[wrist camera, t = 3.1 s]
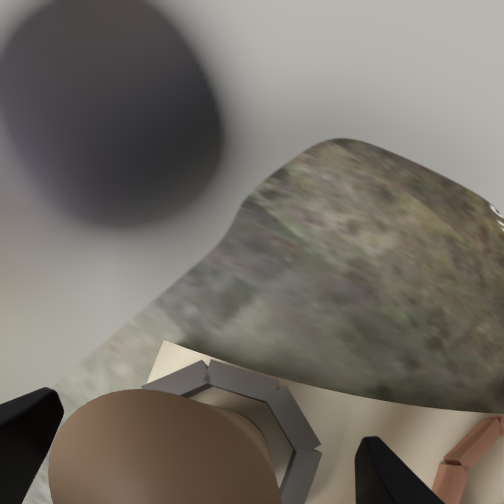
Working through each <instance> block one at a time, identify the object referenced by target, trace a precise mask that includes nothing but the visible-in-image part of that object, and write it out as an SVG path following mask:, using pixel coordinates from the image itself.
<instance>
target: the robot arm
mask: <svg viewBox="0 0 504 504" xmlns="http://www.w3.org/2000/svg"><path fill="white" fill-rule="evenodd" d="M63 415H64V409H63V406H62V403H61V401H60V398H59V396H58V393H57V392H56V391H55V390H53V389H51V388H48V387H44V388H41V389H38V390H36V391H33V392H31V393H29V394H26V395H23V396H21V397H18V398H16V399H13V400H11V401H8V402H5V403H3V404H0V504H22V502H23V500H24V498H25V496H26V494H27V492H28V490H29V488H30V486H31V484H32V482H33V480H34V478H35V476H36V474H37V472H38V470H39V468H40V466H41V464H42V463H43V461H44V459H45V457H46V455H47V453H48V451H49V449H50V446H51V444H52V442H53V439H54V437H55V434H56V432H57V429H58V427H59V425H60V422H61V420H62V418H63ZM354 464H355V500H356V504H445V503H444V502H443V501H442V500H441V499H440V498H439V497H438V496H437V495H436V494H435V493H434V492H433V491H432V490H431V489H430V488H429V487H428V486H427V485H426V484H425V483H424V482H423V481H422V480H421V479H420V478H419V477H418V476H417V475H416V474H415V473H414V472H413V471H412V470H411V469H410V468H409V467H408V466H407V465H406V464H405V463H404V462H403V461H402V460H401V459H400V458H399V457H398V456H397V455H396V454H395V453H394V452H393V451H392V450H391V449H390V448H389V447H388V446H387V445H386V444H385V443H384V442H383V440H382V439H381V438H380V437H378V436H366V437H363V438H362V440H361V443H360V445H359V447H358V450H357V452H356V454H355V460H354Z"/></svg>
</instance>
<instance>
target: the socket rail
mask: <svg viewBox="0 0 504 504" xmlns="http://www.w3.org/2000/svg"><path fill="white" fill-rule="evenodd" d="M141 387H142V389H146V390H158V391H163V392H168V393H173V394H176V395H179V396H182V397H186V398H189V399H192V400H195V401H199V402H202V403H205V404H209V405H212V406H216V407H219V408H223V409H227V410H230V411H234V412H237V413H239V414H241V415H243V416H245V417H247V418H248V419H250V420H251V421H252V422H253V423H254V424H256V425H257V427H258V428H259V429H260V430H261V432H262V433H263V435H264V437H265V439H266V441H267V444H268V448H269V452H270V456H271V460H272V464H273V468H274V472H275V475H276V479H277V483H278V487H279V491H280V496H281V502H282V504H356V500H355V464H354V460H355V454H356V452H357V450H358V447H359V445H360V443H361V440H362V438H363V437H366V436H378V437H380V438H381V439H382V440H383V442H384V443H385V444H386V445H387V446H388V447H389V448H390V449H391V450H392V451H393V452H394V453H395V454H396V455H397V456H398V457H399V458H400V459H401V460H402V461H403V462H404V463H405V464H406V465H407V466H408V467H409V468H410V469H411V470H412V471H413V472H414V473H415V474H416V475H417V476H418V477H419V478H420V479H421V480H422V481H423V482H424V483H425V484H426V485H427V486H428V487H429V488H430V489H431V490H432V491H433V492H434V493H435V494H436V495H437V496H438V497H439V498H440V499H441V500H442V501H443V502H444V503H445V504H504V414H497V413H479V412H466V411H455V410H445V409H436V408H428V407H420V406H413V405H406V404H400V403H393V402H387V401H382V400H376V399H370V398H365V397H360V396H355V395H350V394H345V393H340V392H336V391H331V390H327V389H323V388H318V387H314V386H310V385H306V384H302V383H298V382H294V381H290V380H286V379H283V378H279V377H275V376H272V375H268V374H265V373H261V372H258V371H254V370H251V369H247V368H244V367H241V366H238V365H234V364H231V363H228V362H225V361H222V360H219V359H216V358H213V357H210V356H207V355H204V354H201V353H198V352H195V351H193V350H190V349H187V348H184V347H181V346H179V345H176V344H173V343H171V342H168V341H165V340H164V341H163V344H162V346H161V349H160V351H159V354H158V356H157V359H156V361H155V364H154V366H153V369H152V371H151V374H150V376H149V379H148V381H147V384H145V385H143V386H141Z"/></svg>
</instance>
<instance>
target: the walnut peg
mask: <svg viewBox="0 0 504 504" xmlns="http://www.w3.org/2000/svg"><path fill="white" fill-rule="evenodd" d="M48 476H49V487H50V492H51V497H52V501H53V504H282V502H281V496H280V491H279V487H278V483H277V479H276V475H275V472H274V468H273V464H272V460H271V456H270V452H269V448H268V444H267V441H266V439H265V437H264V435H263V433H262V432H261V430H260V429H259V428H258V427H257V425H256V424H254V423H253V422H252V421H251V420H250V419H248V418H247V417H245V416H243V415H241V414H239V413H237V412H234V411H230V410H227V409H223V408H219V407H216V406H212V405H209V404H205V403H202V402H199V401H195V400H192V399H189V398H186V397H182V396H179V395H176V394H173V393H168V392H163V391H158V390H146V389H134V390H123V391H117V392H112V393H109V394H106V395H103V396H100V397H98V398H96V399H93V400H91V401H89V402H88V403H86V404H85V405H83V406H82V407H80V408H79V409H78V410H76V411H75V412H74V413H73V414H72V415H71V416H70V417H69V418H68V419H67V421H66V422H65V423H64V425H63V426H62V427H61V429H60V431H59V433H58V434H57V436H56V438H55V441H54V444H53V446H52V449H51V454H50V459H49V469H48Z"/></svg>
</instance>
